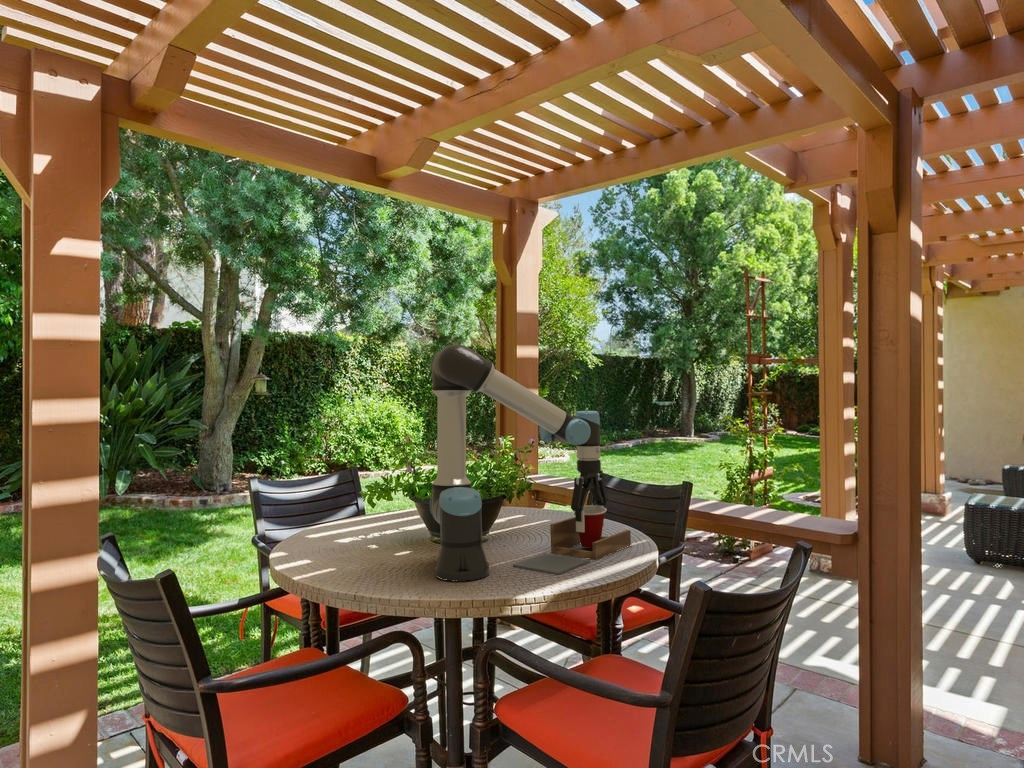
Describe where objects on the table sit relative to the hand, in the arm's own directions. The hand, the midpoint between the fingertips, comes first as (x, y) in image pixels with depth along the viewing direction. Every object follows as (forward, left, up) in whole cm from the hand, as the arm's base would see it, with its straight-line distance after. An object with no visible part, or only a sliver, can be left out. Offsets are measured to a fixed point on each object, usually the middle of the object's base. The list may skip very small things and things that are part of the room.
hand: (590, 528), depth 207 cm
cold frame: (0, 0, -7) cm, 7 cm away
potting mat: (0, -22, -7) cm, 23 cm away
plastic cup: (0, 0, -6) cm, 6 cm away
